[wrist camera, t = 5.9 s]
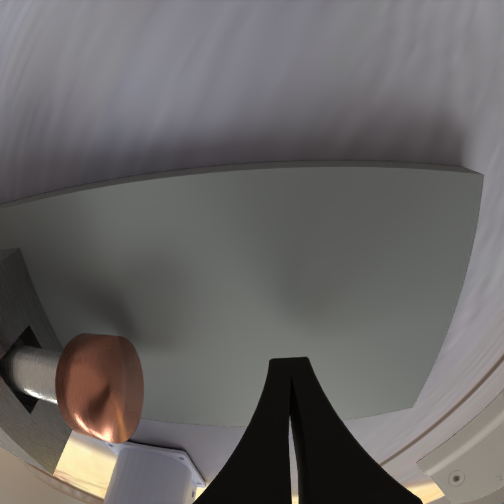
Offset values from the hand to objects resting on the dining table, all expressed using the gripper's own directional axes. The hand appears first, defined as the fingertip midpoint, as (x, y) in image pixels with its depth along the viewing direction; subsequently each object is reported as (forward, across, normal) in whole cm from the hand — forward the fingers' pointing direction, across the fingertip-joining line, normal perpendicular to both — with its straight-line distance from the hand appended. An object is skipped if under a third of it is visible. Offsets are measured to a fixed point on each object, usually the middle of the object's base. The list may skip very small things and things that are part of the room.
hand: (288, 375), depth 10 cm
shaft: (+1, +14, 0) cm, 14 cm away
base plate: (+3, +5, 0) cm, 6 cm away
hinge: (+4, -22, +18) cm, 29 cm away
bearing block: (+2, +15, 0) cm, 15 cm away
